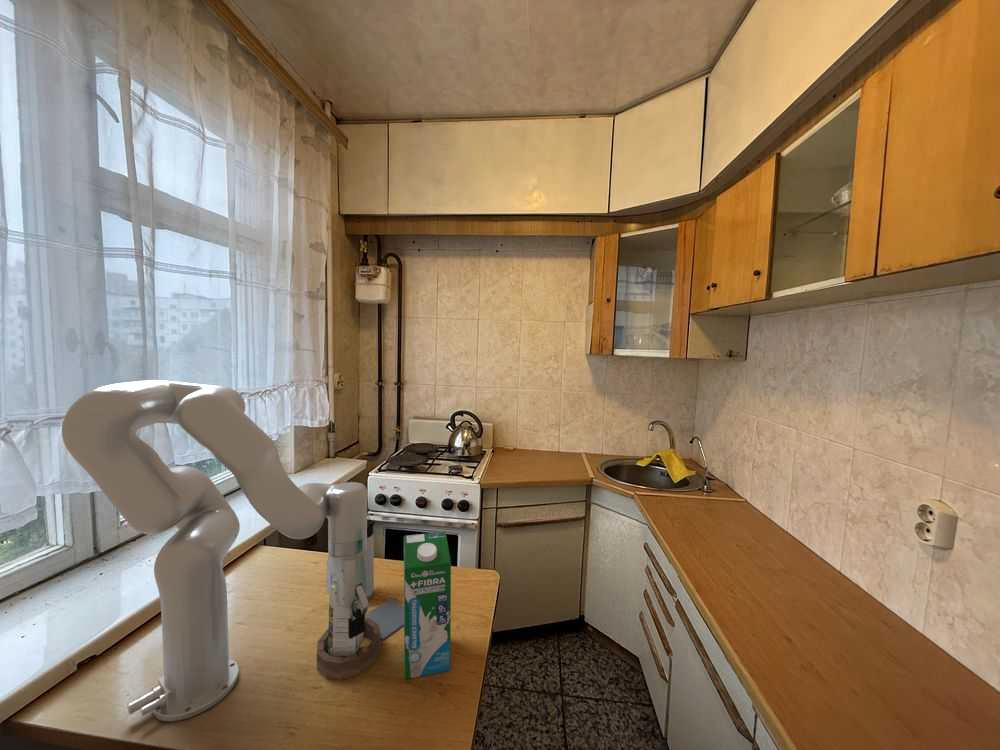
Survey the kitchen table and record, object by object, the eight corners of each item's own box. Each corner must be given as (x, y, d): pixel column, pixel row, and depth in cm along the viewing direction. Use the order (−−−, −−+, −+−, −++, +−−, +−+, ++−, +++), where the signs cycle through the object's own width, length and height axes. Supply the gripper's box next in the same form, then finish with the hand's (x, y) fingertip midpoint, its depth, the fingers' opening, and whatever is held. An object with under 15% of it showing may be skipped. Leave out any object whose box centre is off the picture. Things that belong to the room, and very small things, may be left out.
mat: (382, 640, 83) (382, 639, 83) (356, 621, 89) (356, 620, 89) (416, 615, 91) (416, 614, 91) (390, 599, 97) (390, 598, 97)
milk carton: (404, 680, 73) (404, 556, 72) (403, 645, 82) (403, 535, 81) (450, 670, 76) (451, 550, 74) (445, 637, 84) (445, 530, 83)
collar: (338, 690, 71) (338, 671, 71) (305, 658, 78) (305, 641, 78) (392, 649, 81) (392, 632, 81) (358, 624, 88) (358, 609, 88)
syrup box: (338, 636, 82) (338, 572, 81) (365, 636, 82) (365, 572, 82) (327, 657, 76) (327, 588, 76) (356, 657, 77) (357, 588, 76)
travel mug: (370, 603, 96) (369, 527, 95) (344, 603, 96) (343, 527, 95) (378, 588, 102) (378, 517, 101) (354, 588, 102) (354, 516, 101)
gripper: (313, 534, 82) (313, 612, 82) (348, 567, 70) (348, 657, 70) (347, 524, 87) (346, 597, 88) (385, 552, 75) (384, 636, 76)
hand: (347, 623), depth 79 cm, fingers closed on syrup box, 7 cm apart
